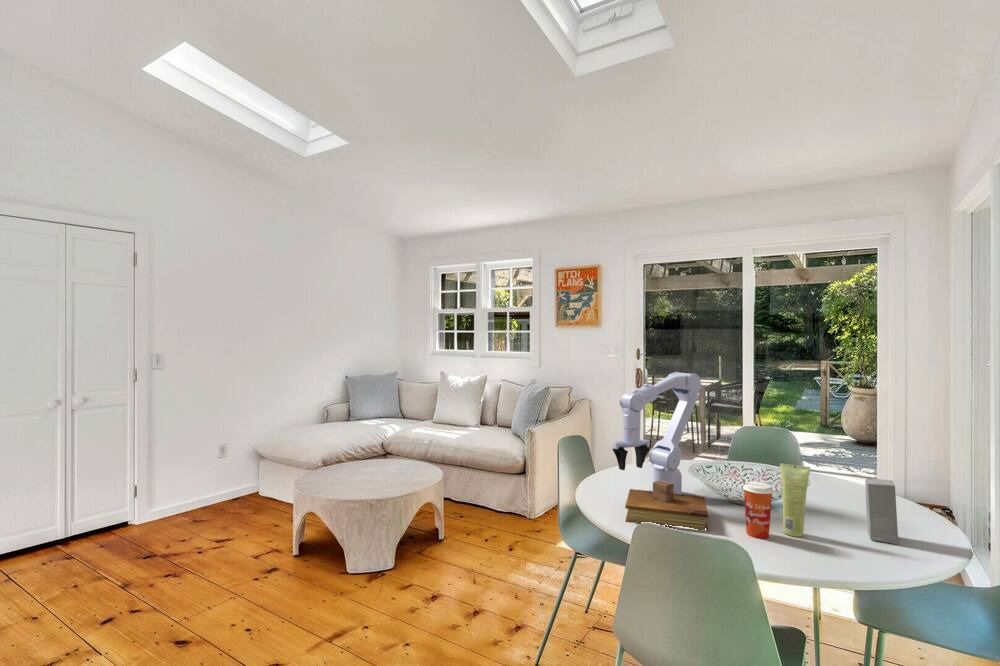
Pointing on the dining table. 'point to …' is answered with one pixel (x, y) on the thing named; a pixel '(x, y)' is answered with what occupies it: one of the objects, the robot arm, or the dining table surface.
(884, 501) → the skincare box
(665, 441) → the robot arm
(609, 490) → the dining table surface
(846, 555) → the dining table surface
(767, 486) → the paper cup
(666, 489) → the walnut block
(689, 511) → the diary
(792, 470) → the tube
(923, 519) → the dining table surface
